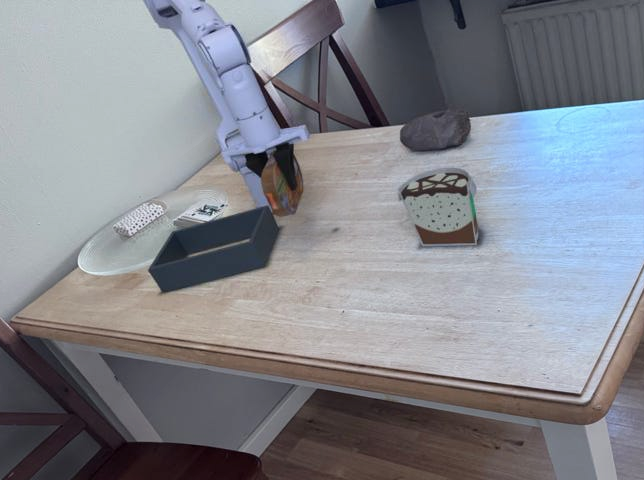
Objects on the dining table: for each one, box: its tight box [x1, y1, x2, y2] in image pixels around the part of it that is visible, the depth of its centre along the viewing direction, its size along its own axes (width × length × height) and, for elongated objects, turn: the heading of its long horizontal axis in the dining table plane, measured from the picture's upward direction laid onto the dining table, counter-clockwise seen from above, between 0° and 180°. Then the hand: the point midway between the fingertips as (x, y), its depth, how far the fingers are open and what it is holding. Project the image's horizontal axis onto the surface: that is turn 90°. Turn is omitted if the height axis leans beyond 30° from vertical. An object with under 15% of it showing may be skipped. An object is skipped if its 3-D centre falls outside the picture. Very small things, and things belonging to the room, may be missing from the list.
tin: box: [261, 150, 305, 218], centre depth 107 cm, size 15×3×8 cm, turn 178°
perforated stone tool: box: [399, 107, 472, 152], centre depth 125 cm, size 15×5×7 cm, turn 67°
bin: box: [147, 205, 280, 293], centre depth 116 cm, size 14×20×5 cm
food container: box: [397, 166, 480, 247], centre depth 96 cm, size 12×6×10 cm, turn 65°
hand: (286, 190), depth 108 cm, fingers closed on tin, 2 cm apart
